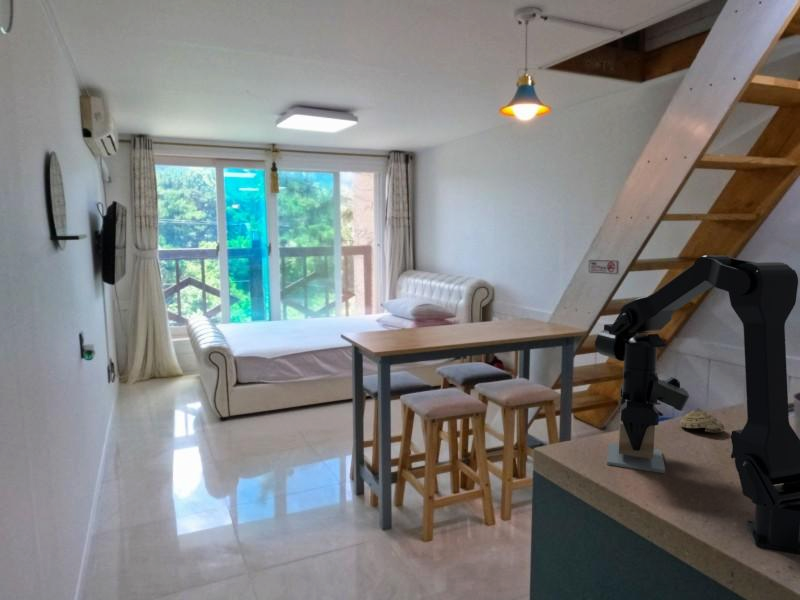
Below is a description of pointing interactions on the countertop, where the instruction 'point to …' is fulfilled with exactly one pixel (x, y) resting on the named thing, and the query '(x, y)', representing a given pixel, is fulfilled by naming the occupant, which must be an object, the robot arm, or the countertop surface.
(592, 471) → the countertop surface
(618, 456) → the coaster
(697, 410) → the seashell
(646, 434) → the beige cube
